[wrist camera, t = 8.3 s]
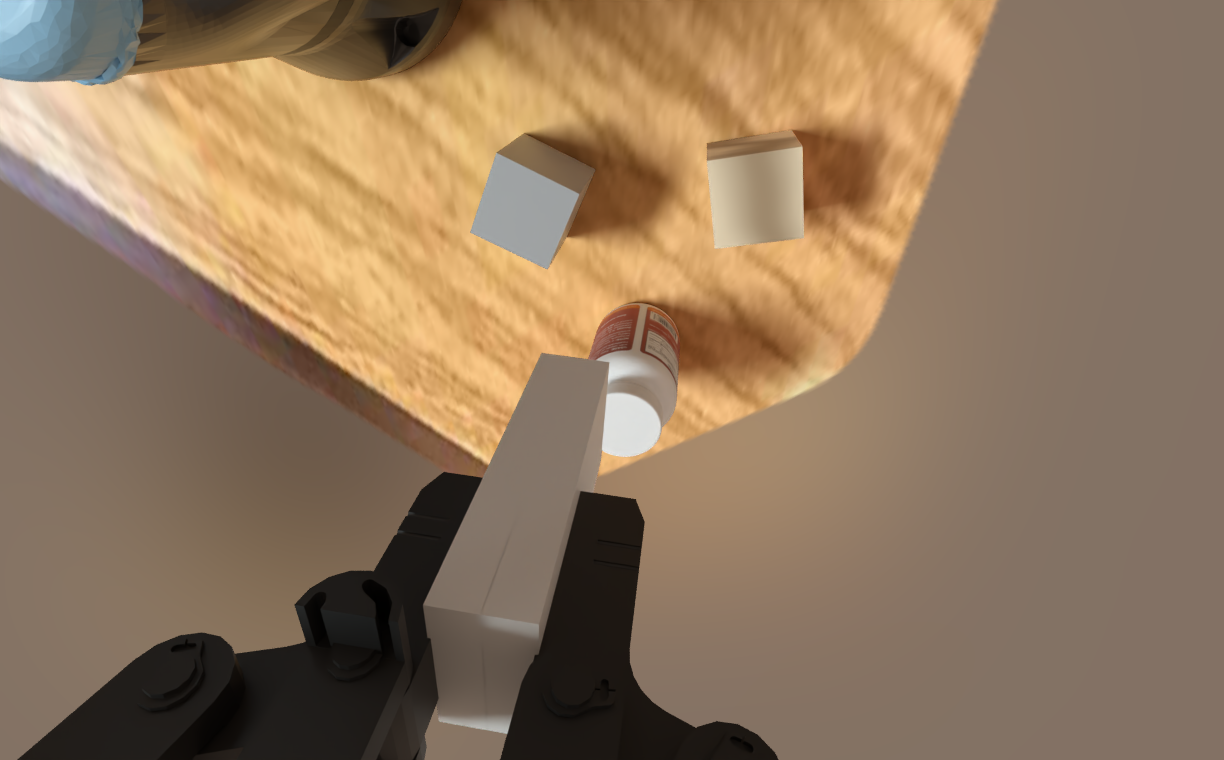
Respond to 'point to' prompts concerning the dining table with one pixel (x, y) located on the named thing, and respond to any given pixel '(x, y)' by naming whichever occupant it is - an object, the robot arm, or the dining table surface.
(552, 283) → the dining table surface
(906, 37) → the dining table surface
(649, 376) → the pill bottle
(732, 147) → the maple block
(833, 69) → the dining table surface
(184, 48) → the robot arm
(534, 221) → the grey block
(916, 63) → the dining table surface
